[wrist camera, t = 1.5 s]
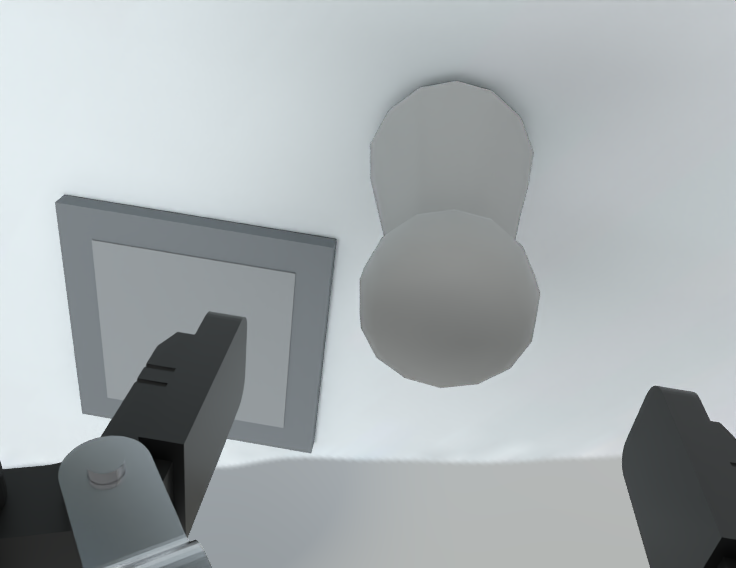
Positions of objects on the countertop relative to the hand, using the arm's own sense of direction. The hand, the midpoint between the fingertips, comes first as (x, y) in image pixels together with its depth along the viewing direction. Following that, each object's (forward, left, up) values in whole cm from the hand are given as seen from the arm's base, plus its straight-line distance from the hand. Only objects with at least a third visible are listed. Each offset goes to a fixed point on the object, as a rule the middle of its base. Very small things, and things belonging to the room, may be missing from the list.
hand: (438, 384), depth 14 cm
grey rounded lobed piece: (0, 0, -15) cm, 15 cm away
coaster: (+10, +11, -15) cm, 21 cm away
